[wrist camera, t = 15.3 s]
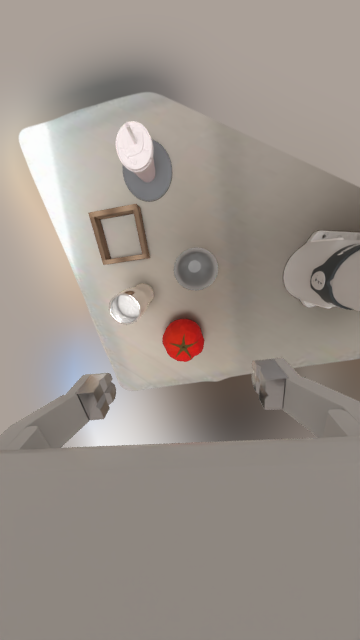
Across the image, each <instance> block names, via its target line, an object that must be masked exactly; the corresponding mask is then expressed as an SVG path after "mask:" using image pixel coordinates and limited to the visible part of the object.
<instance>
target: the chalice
mask: <svg viewBox="0 0 360 640" xmlns="http://www.w3.org/2000/svg"><path fill="white" fill-rule="evenodd" d="M217 273H218V263H217V260H216V258H215V256H214V255H213V254H212V253H211V252H210V251H208V250H206V249H203V248H196V247H195V248H190V249H187V250H186V251H184V252H182V253H181V254H180V255H179V256H178V257H177V260H176V262H175V264H174V275H175V278H176V280H177V281H178V283H179V284H180V285H182V286H183V287H184V288H187V289H189V290H201V289H204V288H206V287H208V286H209V285H211V284H212V283H213V282H214V280H215V278H216V277H217Z"/></svg>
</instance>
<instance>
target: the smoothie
mask: <svg viewBox="0 0 360 640" xmlns="http://www.w3.org/2000/svg"><path fill="white" fill-rule="evenodd" d="M153 150H154V148H153V142H152V139H151V137H150V134H149V132H148V131H147V129H146V128H145V127H144V126H143V125H142V124H140V123H138V122H135V121H130V122H125V124H124V125H123V126H122V127H121V128H120V129H119V131H118V133H117V137H116V151H117V154H118V157H119V159H120V161H121V162H122V164H123V165H124V166H125V167H126V168H127V169H128V170H130V171H132V172H134V173H135V174H136V175H137V176H138V177H139V178H141V179H142V180H143V181H144V182H151V181H152V180H153V179H154V177H155V166H154V159H153Z"/></svg>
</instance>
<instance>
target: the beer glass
mask: <svg viewBox="0 0 360 640" xmlns="http://www.w3.org/2000/svg"><path fill="white" fill-rule="evenodd" d="M153 298H154V291H153V289H152V288H151V287H150V286H149V285H148V284H145V283H140V284H138V285H136V286H135V287H133V288H127V289H125V290H123V291H121V292H119V293H118V294H117V295H116V296H114V297H113V298H112V299H111V301H110V303H109V311H110V314H111V316H112V317H113V318H114V319H115V320H116V321H117V322H119V323H121V324H132V323H134V322H136V321H137V320H138V319H139V318H140V317H141V316H142V315H143V314H144V313H145V311H146V310H147V307H148V304H149V303H150V302H151V301H152V300H153Z"/></svg>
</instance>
